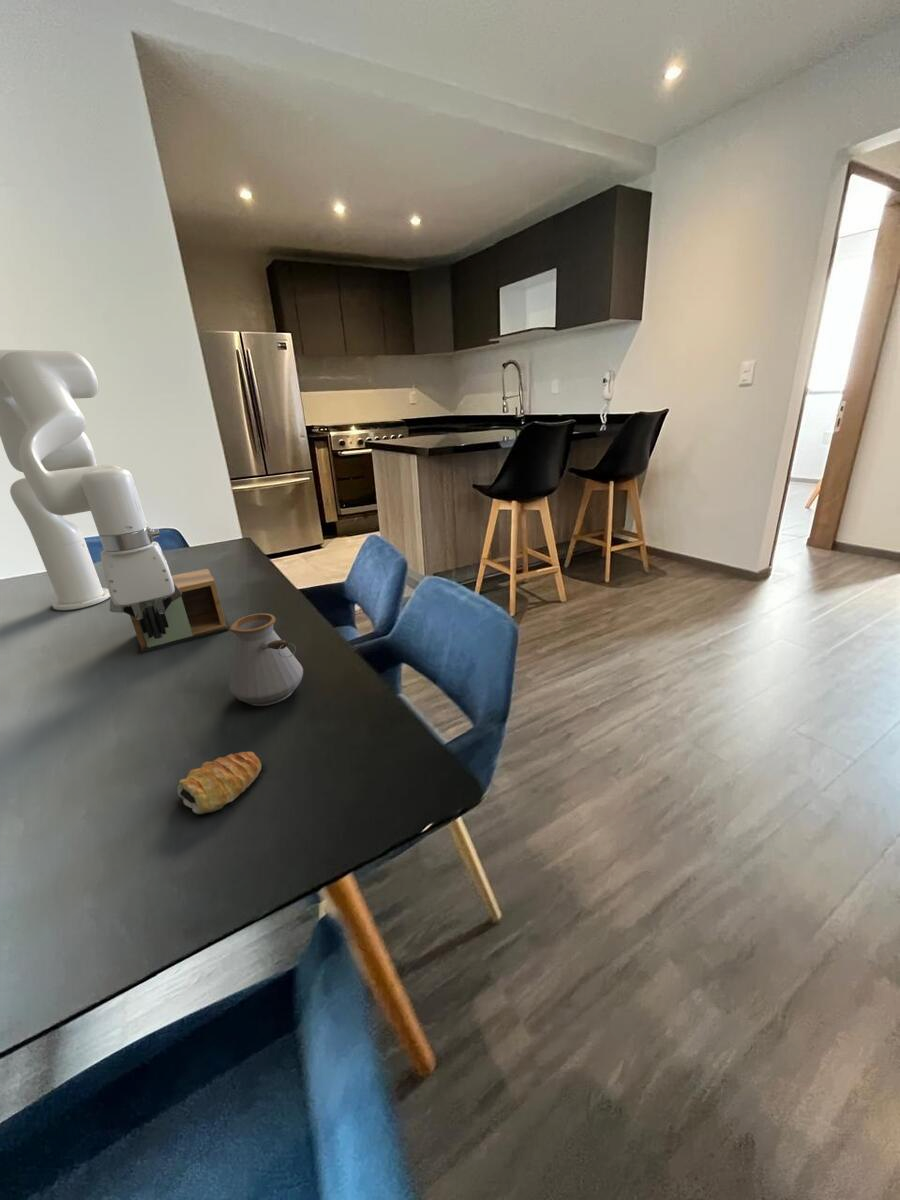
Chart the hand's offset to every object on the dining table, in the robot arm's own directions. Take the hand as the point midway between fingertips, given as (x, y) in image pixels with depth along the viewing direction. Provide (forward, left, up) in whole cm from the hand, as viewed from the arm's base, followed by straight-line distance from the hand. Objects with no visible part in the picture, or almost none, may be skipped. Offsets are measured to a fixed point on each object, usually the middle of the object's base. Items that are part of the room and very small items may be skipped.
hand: (157, 632), depth 94 cm
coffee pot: (+33, +14, -5) cm, 36 cm away
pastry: (+47, +3, -5) cm, 47 cm away
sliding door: (-2, +2, -4) cm, 5 cm away
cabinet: (-9, +4, -5) cm, 11 cm away
